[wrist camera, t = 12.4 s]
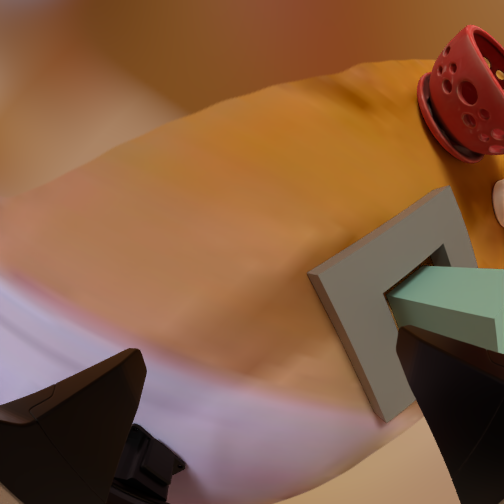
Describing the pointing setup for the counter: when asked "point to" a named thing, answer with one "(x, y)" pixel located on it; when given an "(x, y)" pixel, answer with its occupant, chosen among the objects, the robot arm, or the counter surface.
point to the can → (498, 201)
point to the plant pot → (466, 96)
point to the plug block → (454, 304)
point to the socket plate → (381, 279)
